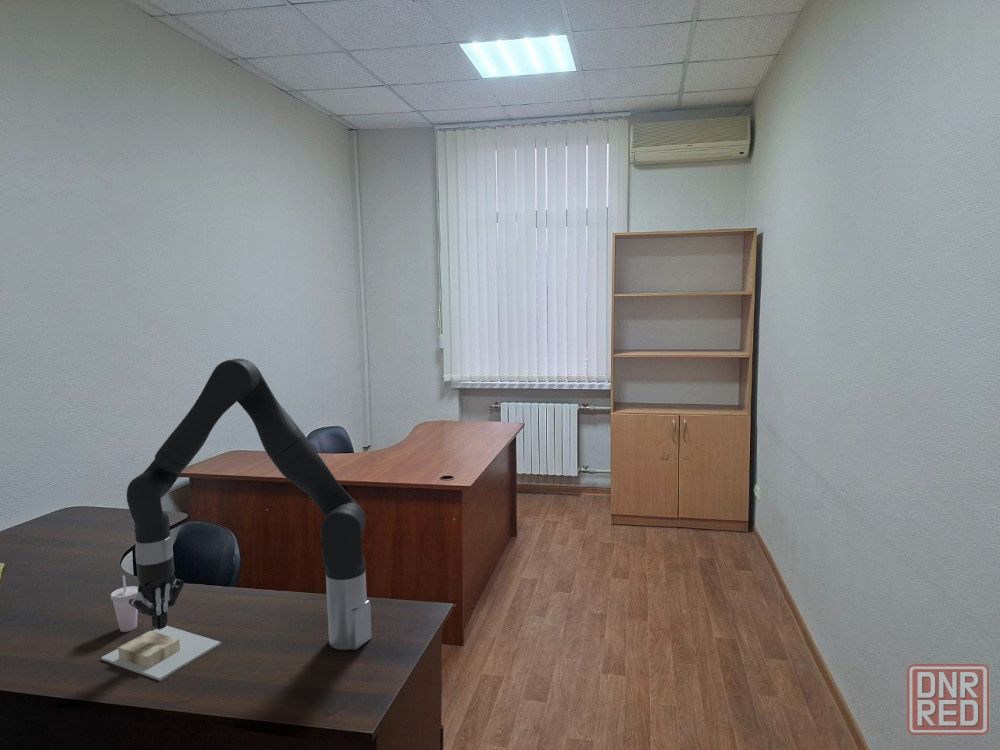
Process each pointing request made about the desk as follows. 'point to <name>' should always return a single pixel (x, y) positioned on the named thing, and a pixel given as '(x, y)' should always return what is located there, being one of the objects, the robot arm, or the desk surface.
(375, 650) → the desk surface
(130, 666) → the mat
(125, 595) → the smoothie
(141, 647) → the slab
